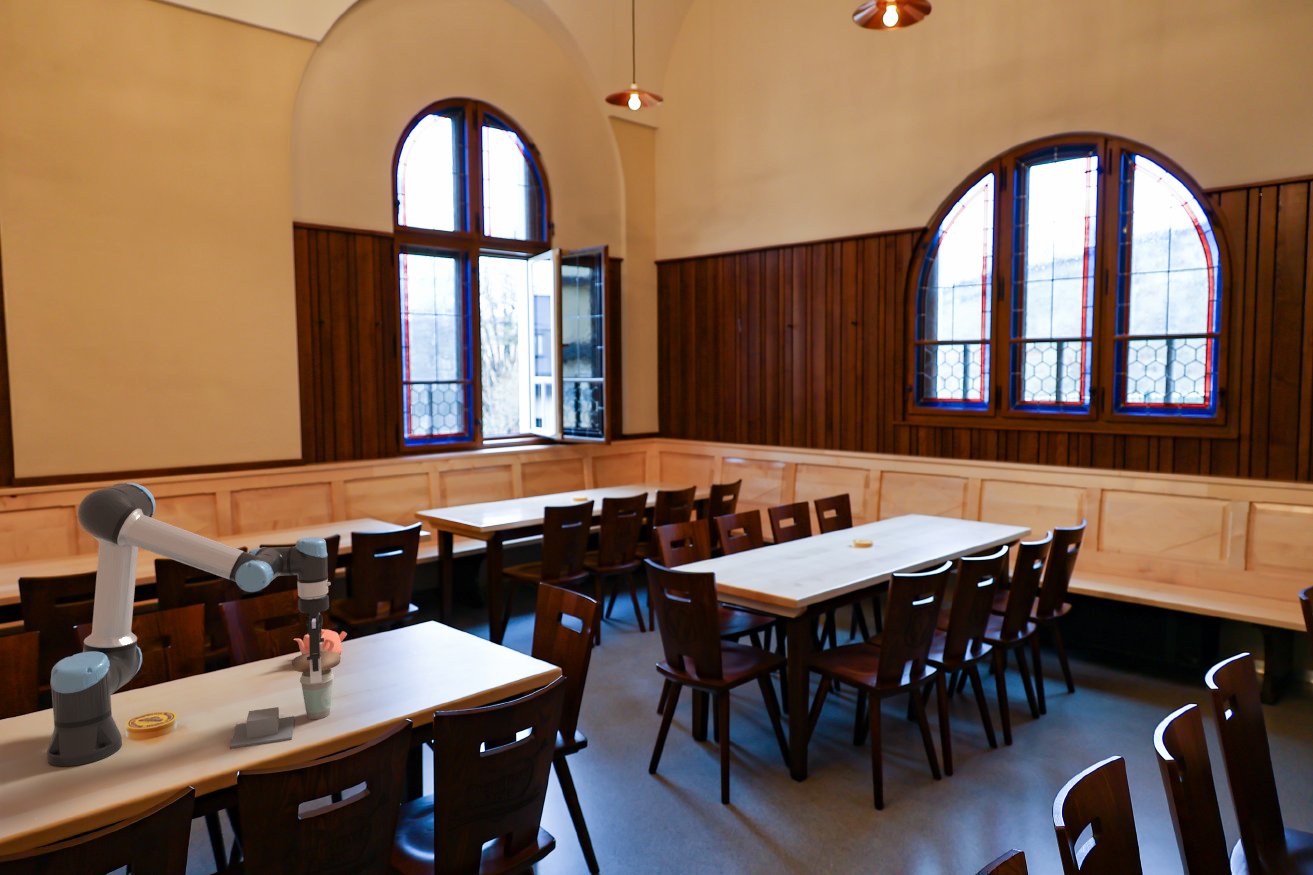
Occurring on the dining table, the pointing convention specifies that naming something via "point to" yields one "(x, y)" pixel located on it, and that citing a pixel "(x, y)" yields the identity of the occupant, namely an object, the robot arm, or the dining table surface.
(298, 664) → the lid
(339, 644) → the teapot
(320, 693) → the coffee cup
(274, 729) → the grey stepped base plate
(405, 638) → the dining table surface
